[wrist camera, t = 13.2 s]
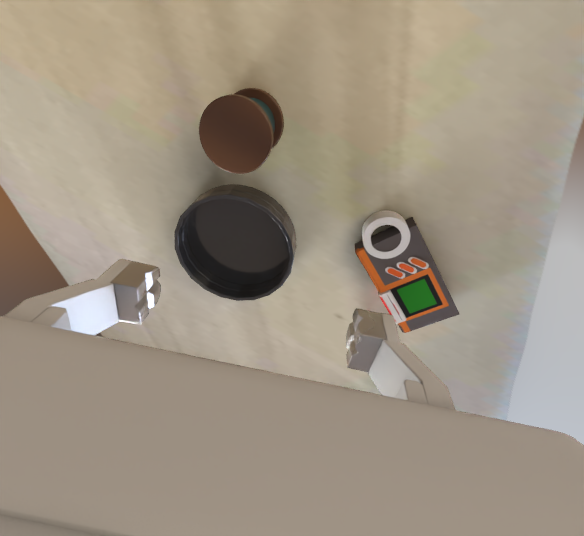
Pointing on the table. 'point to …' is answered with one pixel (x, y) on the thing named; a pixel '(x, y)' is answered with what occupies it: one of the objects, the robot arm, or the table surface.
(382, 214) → the electronic device
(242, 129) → the spool
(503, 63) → the table surface
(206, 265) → the pan
